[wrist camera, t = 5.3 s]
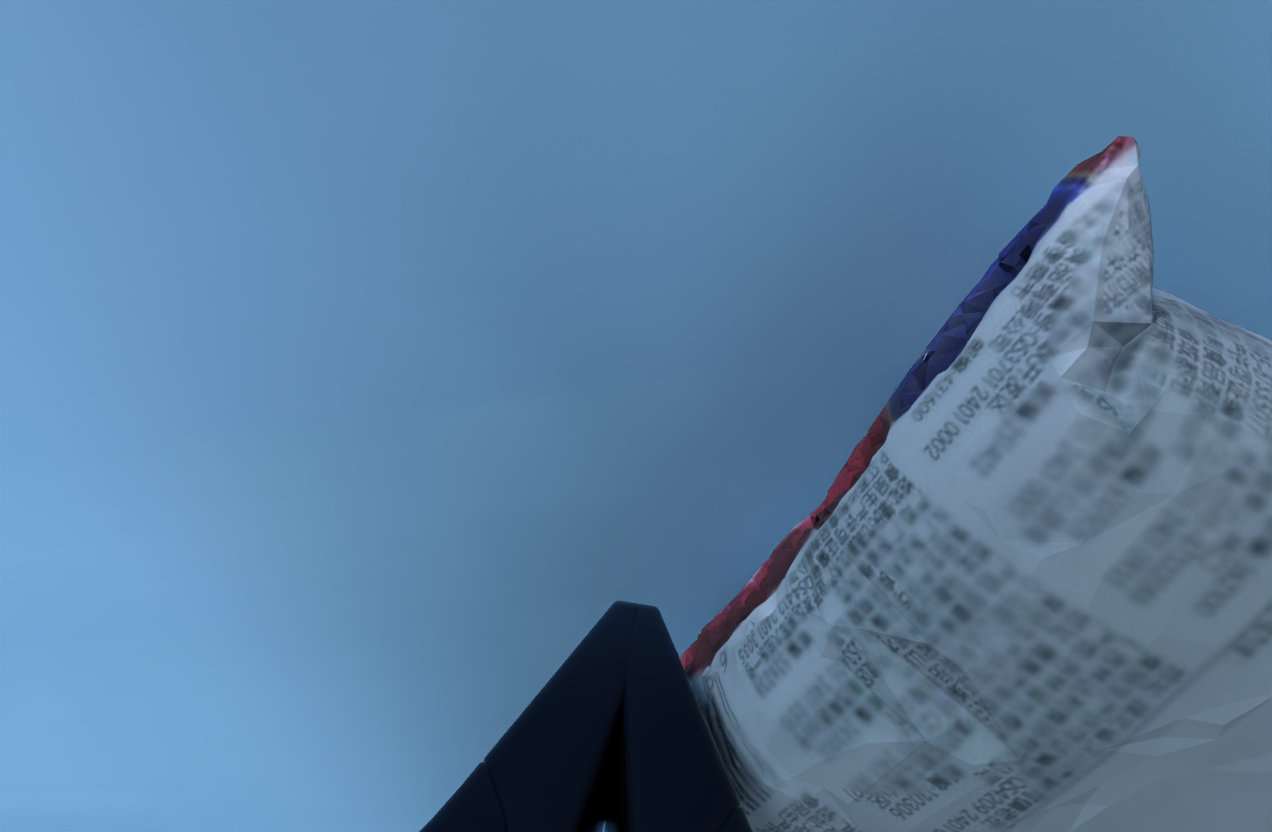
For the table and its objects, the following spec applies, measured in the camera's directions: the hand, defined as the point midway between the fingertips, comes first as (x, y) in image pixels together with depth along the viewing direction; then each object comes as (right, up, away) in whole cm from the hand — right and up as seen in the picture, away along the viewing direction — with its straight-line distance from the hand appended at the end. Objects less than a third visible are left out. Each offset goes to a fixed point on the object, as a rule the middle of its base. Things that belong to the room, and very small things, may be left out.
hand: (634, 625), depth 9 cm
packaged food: (+6, 0, +2) cm, 7 cm away
